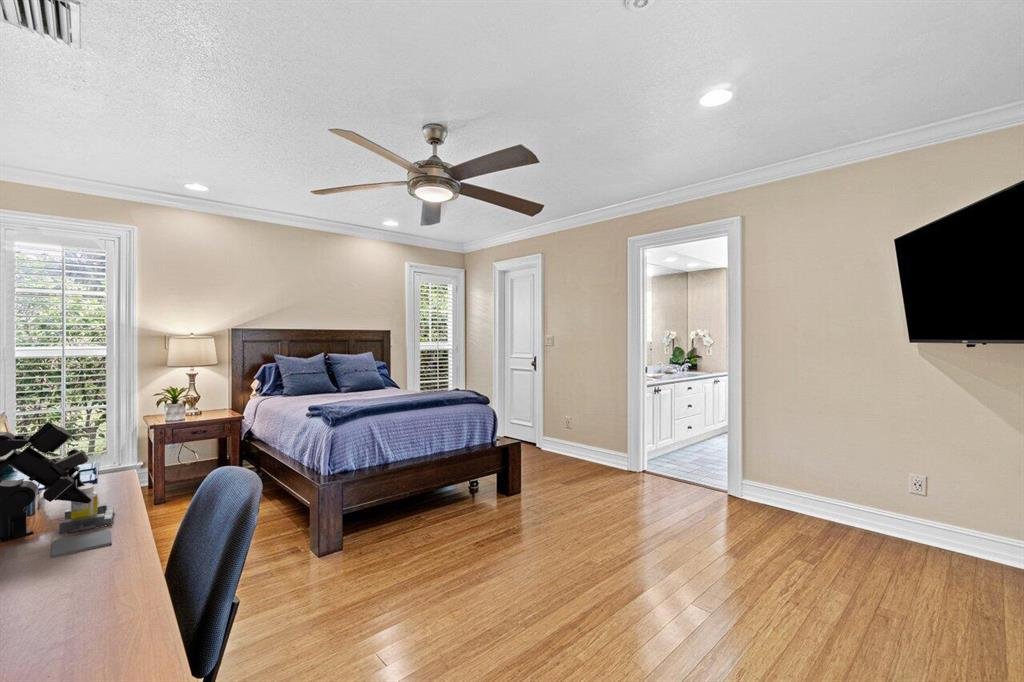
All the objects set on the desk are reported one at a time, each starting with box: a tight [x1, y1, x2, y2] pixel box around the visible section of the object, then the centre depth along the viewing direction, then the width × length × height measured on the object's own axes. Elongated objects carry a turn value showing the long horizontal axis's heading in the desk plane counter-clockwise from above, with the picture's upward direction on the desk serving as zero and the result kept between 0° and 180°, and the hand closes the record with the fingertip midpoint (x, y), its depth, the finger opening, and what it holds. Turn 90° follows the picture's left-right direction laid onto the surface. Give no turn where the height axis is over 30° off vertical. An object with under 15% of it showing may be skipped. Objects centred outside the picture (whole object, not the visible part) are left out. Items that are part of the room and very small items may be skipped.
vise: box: [58, 502, 115, 535], centre depth 134 cm, size 17×11×3 cm, turn 37°
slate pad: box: [50, 529, 112, 558], centre depth 122 cm, size 11×11×1 cm
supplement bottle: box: [70, 484, 98, 519], centre depth 135 cm, size 6×6×10 cm
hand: (91, 498), depth 136 cm, fingers closed on supplement bottle, 5 cm apart
